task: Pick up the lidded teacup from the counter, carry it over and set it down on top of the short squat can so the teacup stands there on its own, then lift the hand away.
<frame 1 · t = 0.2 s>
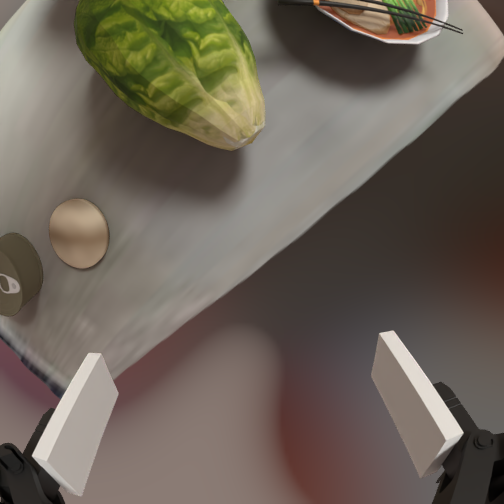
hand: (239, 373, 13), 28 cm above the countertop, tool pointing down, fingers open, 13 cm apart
beech coaster: (79, 232, 39), on the countertop
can: (19, 265, 40), on the countertop
lettuce: (185, 66, 32), on the countertop
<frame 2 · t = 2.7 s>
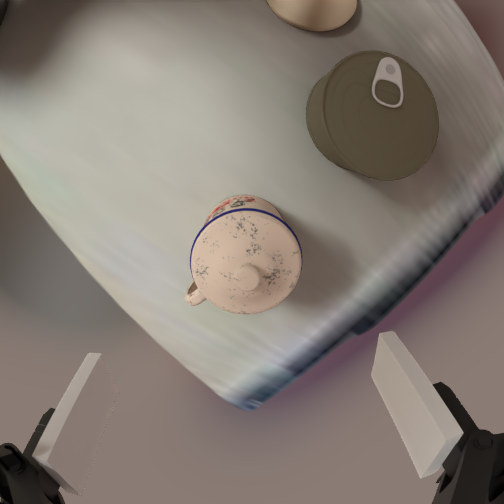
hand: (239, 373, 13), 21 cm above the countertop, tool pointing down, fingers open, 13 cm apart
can: (357, 118, 29), on the countertop
teacup with lid: (234, 242, 33), on the countertop
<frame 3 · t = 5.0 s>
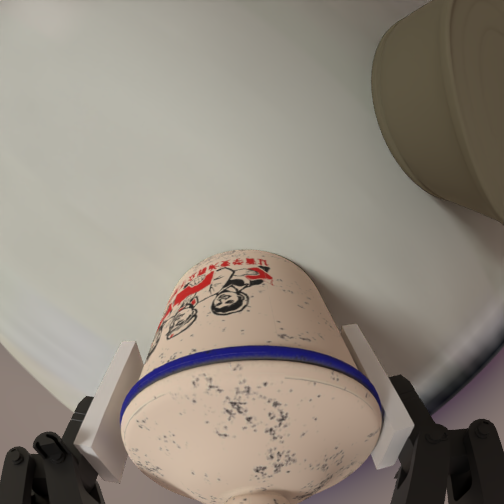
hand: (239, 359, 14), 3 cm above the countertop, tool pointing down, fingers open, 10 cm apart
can: (452, 105, 13), on the countertop
teacup with lid: (226, 332, 17), on the countertop, touching gripper
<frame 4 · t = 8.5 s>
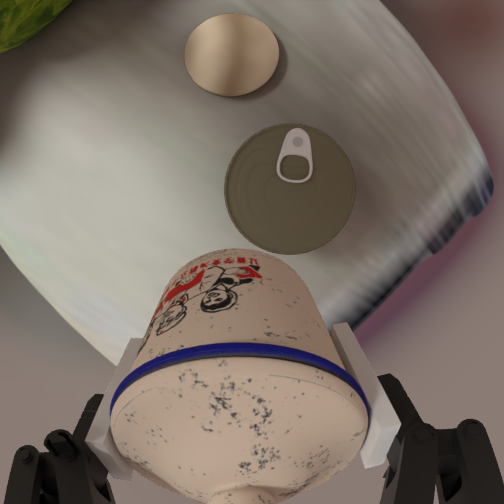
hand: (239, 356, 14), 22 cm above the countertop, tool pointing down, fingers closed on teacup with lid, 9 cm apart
beech coaster: (231, 54, 28), on the countertop
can: (281, 181, 33), on the countertop
teacup with lid: (217, 330, 17), point 18 cm above the countertop, touching gripper
when the fingers open (11 cm above the countertop, at t = 10.9 s): teacup with lid drops 1 cm, resting on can.
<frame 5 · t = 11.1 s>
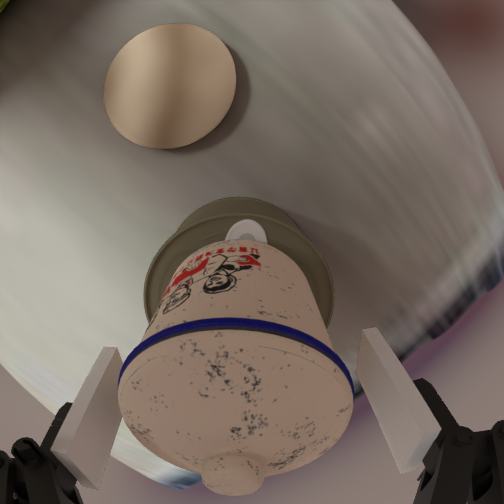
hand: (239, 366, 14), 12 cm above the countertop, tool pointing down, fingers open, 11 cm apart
beech coaster: (169, 85, 20), on the countertop
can: (238, 266, 25), on the countertop, touching teacup with lid
teacup with lid: (221, 316, 19), point 7 cm above the countertop, touching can
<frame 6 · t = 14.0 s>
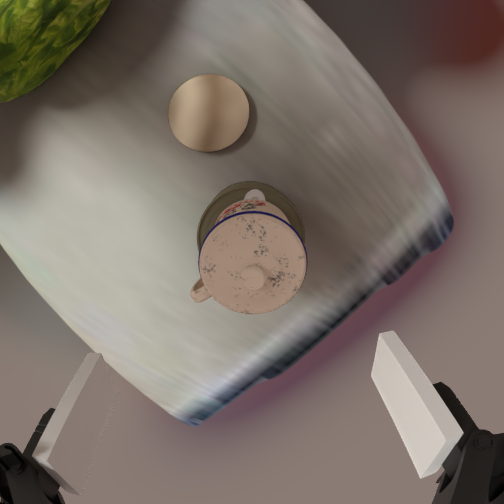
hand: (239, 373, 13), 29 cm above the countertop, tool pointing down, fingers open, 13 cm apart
beech coaster: (209, 113, 35), on the countertop
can: (249, 224, 40), on the countertop, touching teacup with lid
lettuce: (72, 29, 29), on the countertop
teacup with lid: (241, 244, 34), point 7 cm above the countertop, touching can
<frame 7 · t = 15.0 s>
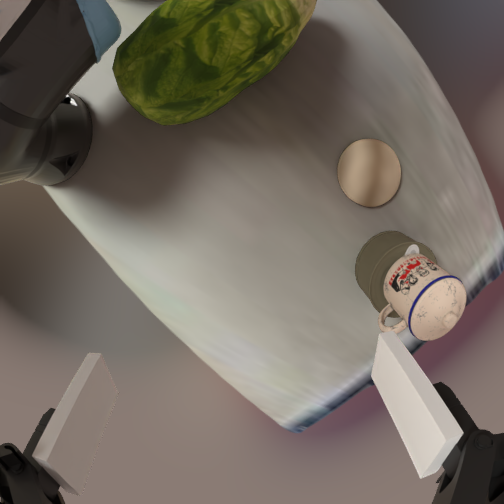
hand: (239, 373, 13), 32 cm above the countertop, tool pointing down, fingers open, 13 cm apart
beech coaster: (368, 172, 42), on the countertop
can: (386, 264, 47), on the countertop, touching teacup with lid
lettuce: (224, 54, 36), on the countertop
teacup with lid: (399, 285, 40), point 7 cm above the countertop, touching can
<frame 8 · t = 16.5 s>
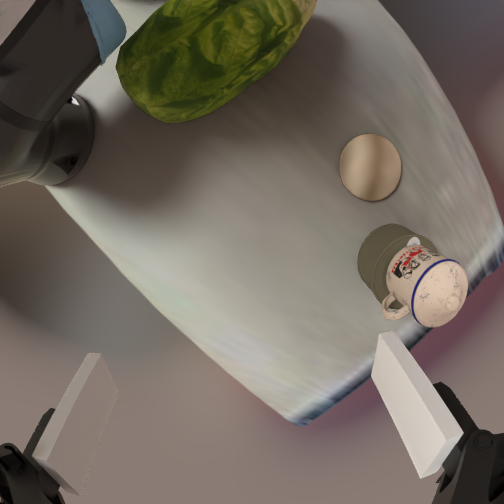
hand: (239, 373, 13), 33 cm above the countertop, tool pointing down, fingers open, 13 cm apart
beech coaster: (369, 166, 42), on the countertop
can: (387, 257, 48), on the countertop, touching teacup with lid
lettuce: (226, 52, 36), on the countertop
teacup with lid: (401, 277, 41), point 7 cm above the countertop, touching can
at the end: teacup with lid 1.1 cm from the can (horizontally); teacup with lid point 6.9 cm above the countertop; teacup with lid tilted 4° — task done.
